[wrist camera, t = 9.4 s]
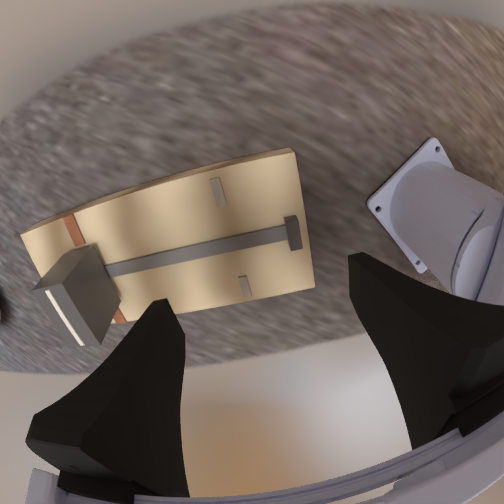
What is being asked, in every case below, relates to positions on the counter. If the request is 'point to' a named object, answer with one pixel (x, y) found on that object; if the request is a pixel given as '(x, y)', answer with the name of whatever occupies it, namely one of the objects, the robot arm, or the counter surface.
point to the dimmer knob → (78, 297)
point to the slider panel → (192, 236)
